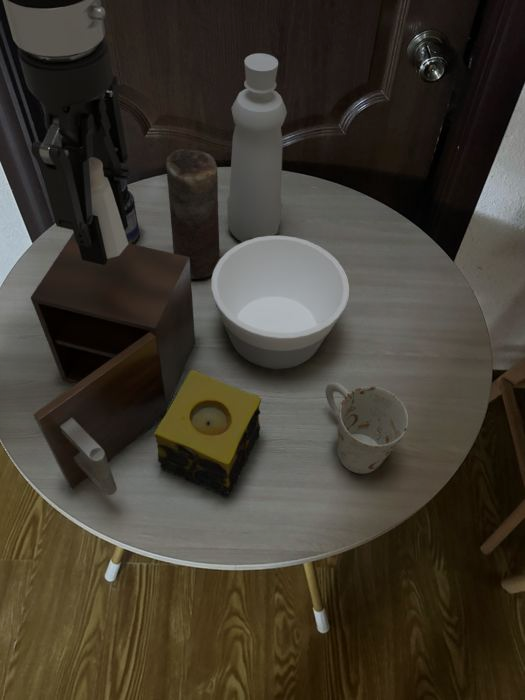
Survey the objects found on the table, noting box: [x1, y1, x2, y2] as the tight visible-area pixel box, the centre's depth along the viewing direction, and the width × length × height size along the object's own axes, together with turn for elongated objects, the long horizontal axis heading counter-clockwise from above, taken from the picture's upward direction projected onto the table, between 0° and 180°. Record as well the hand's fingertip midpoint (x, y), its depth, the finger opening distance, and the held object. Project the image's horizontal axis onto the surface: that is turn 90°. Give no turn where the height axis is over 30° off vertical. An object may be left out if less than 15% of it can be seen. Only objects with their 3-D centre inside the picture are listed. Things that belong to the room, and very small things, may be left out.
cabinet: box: [30, 232, 196, 408], centre depth 82 cm, size 12×16×18 cm
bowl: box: [210, 235, 350, 370], centre depth 89 cm, size 19×19×11 cm
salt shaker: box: [89, 157, 128, 259], centre depth 67 cm, size 5×5×11 cm
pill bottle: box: [120, 179, 140, 245], centre depth 100 cm, size 6×6×11 cm
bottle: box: [226, 52, 288, 243], centre depth 95 cm, size 9×9×30 cm
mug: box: [325, 381, 409, 475], centre depth 79 cm, size 8×13×10 cm, turn 36°
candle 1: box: [165, 148, 221, 280], centre depth 93 cm, size 8×7×20 cm
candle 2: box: [153, 369, 262, 498], centre depth 77 cm, size 10×10×10 cm
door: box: [32, 332, 168, 496], centre depth 73 cm, size 7×16×17 cm, turn 136°
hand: (105, 242), depth 71 cm, fingers closed on salt shaker, 5 cm apart
